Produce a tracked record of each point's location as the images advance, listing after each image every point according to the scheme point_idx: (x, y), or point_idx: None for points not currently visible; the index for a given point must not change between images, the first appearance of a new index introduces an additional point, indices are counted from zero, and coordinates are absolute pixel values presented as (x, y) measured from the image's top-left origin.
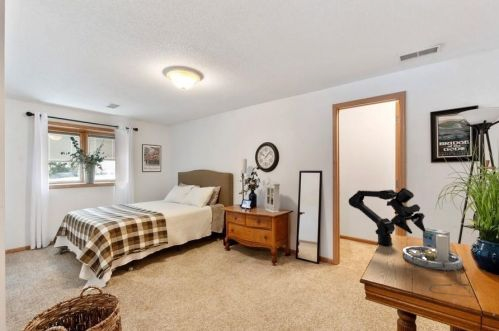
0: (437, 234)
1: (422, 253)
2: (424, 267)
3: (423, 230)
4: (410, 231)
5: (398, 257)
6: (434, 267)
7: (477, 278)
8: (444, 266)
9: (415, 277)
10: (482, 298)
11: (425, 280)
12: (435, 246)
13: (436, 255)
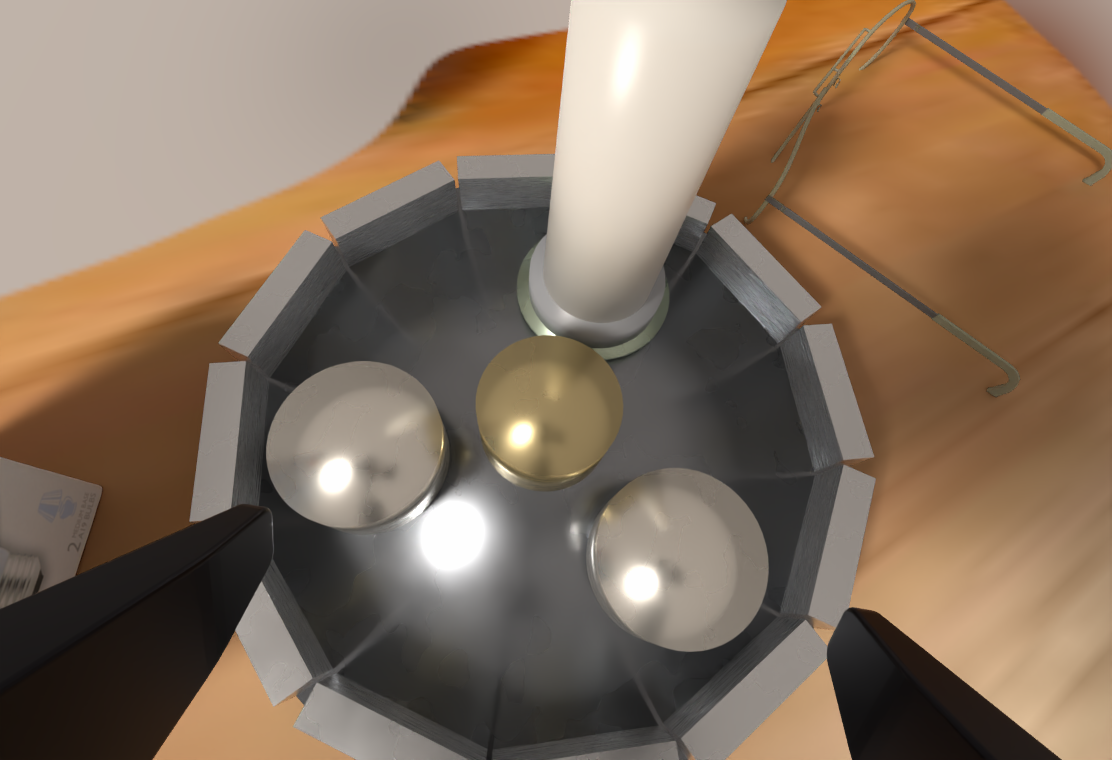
0: (659, 38)
1: (461, 573)
2: (918, 302)
3: (249, 568)
4: (918, 661)
5: (818, 715)
6: (840, 248)
7: None
8: (778, 186)
9: (1051, 312)
10: (877, 16)
11: (1013, 251)
12: (16, 589)
13: (640, 291)
